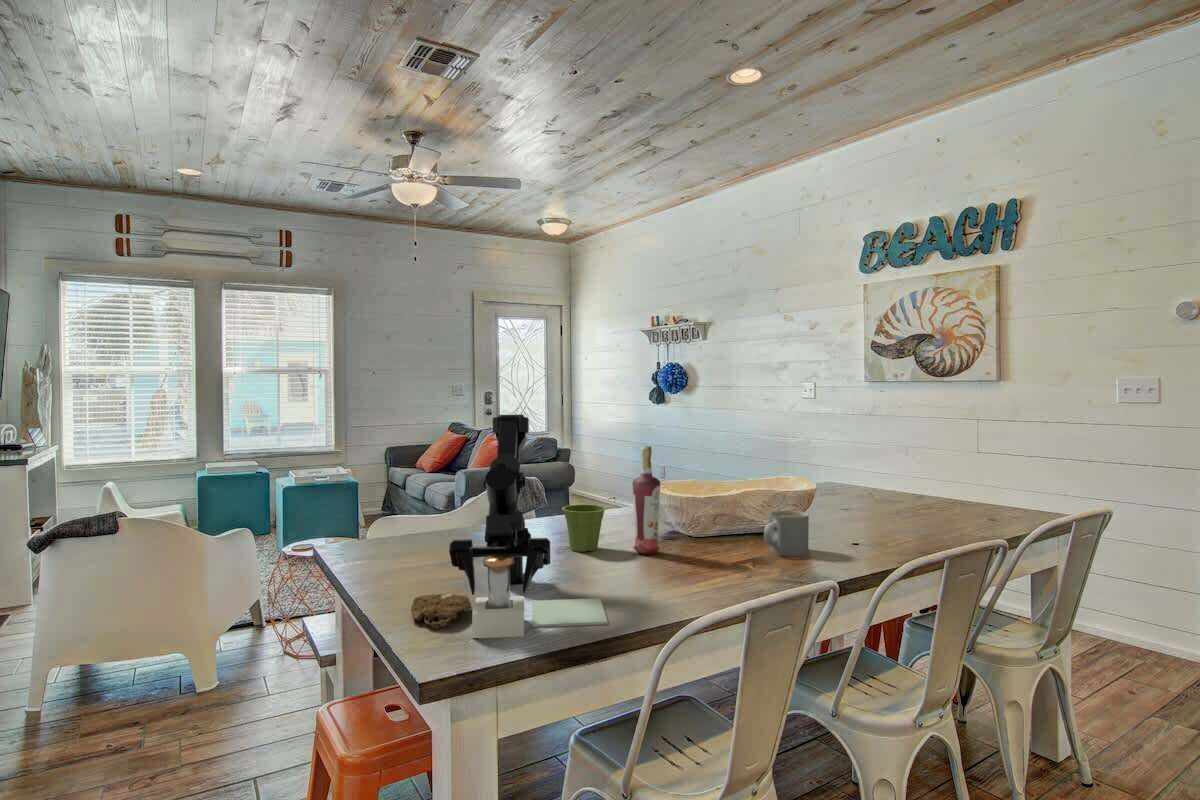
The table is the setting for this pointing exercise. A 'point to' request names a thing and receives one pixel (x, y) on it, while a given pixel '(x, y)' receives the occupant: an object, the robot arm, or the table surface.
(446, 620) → the decorative rock
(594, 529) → the plant pot
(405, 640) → the table surface
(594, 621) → the sage mat
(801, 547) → the coffee mug
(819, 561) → the table surface
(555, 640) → the table surface
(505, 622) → the collar
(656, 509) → the liquor
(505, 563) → the glass jar with lid
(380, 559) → the table surface
